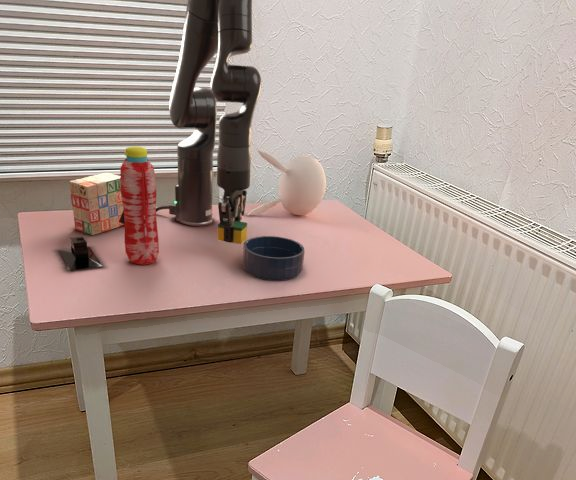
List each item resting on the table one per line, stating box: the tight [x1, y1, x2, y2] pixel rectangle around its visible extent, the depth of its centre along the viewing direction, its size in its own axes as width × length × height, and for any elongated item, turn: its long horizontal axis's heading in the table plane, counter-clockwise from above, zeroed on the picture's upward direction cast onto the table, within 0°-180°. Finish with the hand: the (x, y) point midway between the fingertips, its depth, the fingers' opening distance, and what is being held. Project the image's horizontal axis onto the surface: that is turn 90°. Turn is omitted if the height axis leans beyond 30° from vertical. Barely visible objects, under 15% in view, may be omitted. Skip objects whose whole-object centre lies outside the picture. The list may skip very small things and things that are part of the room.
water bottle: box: [119, 146, 160, 266], centre depth 128 cm, size 12×8×25 cm, turn 28°
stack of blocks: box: [69, 172, 125, 236], centre depth 150 cm, size 21×6×12 cm, turn 148°
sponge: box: [216, 220, 248, 245], centre depth 139 cm, size 6×4×4 cm
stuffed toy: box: [246, 150, 332, 216], centre depth 168 cm, size 19×14×25 cm
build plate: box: [58, 236, 104, 272], centre depth 131 cm, size 12×7×5 cm, turn 29°
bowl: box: [242, 235, 306, 282], centre depth 135 cm, size 14×14×6 cm
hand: (231, 238), depth 140 cm, fingers closed on sponge, 4 cm apart
